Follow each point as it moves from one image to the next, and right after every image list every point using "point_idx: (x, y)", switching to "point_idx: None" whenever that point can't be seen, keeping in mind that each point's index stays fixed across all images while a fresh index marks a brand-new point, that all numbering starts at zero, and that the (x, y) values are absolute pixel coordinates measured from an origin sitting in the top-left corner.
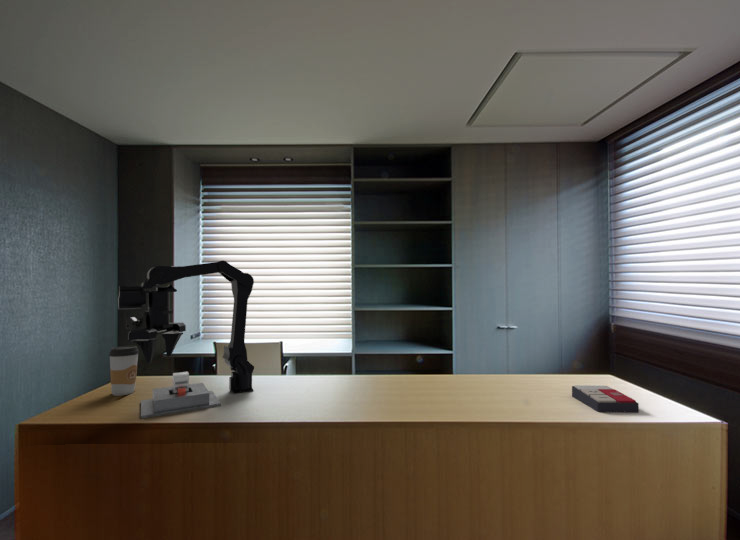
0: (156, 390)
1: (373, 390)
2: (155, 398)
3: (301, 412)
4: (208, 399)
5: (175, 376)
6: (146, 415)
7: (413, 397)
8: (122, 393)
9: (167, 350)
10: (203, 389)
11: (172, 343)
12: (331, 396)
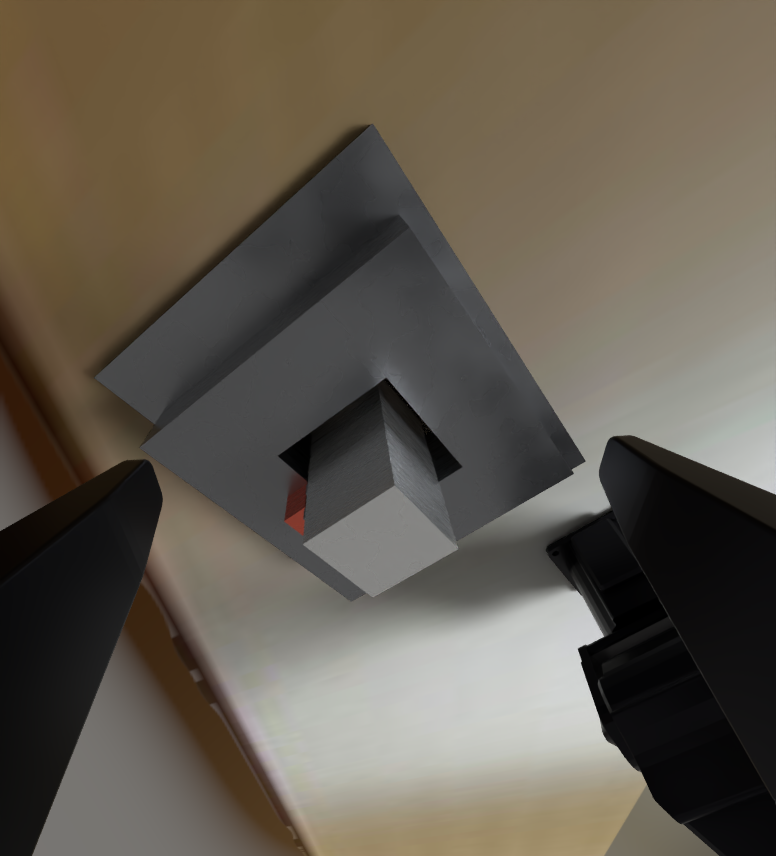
0: (368, 293)
1: (534, 798)
2: (184, 423)
3: (335, 751)
4: None
5: (312, 545)
6: (119, 395)
7: (468, 842)
8: None
9: (663, 504)
10: None
11: (737, 681)
12: (485, 759)
